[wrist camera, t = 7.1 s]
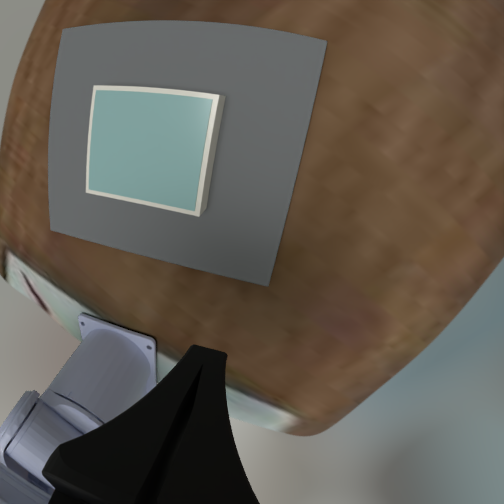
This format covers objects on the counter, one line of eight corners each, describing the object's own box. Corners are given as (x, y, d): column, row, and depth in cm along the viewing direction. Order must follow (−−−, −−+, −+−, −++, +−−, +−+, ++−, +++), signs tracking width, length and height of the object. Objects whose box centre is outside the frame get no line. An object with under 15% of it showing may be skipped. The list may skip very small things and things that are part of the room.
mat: (268, 282, 22) (268, 286, 21) (54, 227, 22) (50, 230, 22) (326, 42, 15) (327, 41, 14) (67, 29, 15) (62, 29, 15)
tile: (198, 217, 18) (85, 193, 18) (206, 208, 19) (98, 186, 20) (218, 94, 15) (92, 85, 15) (225, 95, 16) (107, 85, 17)
